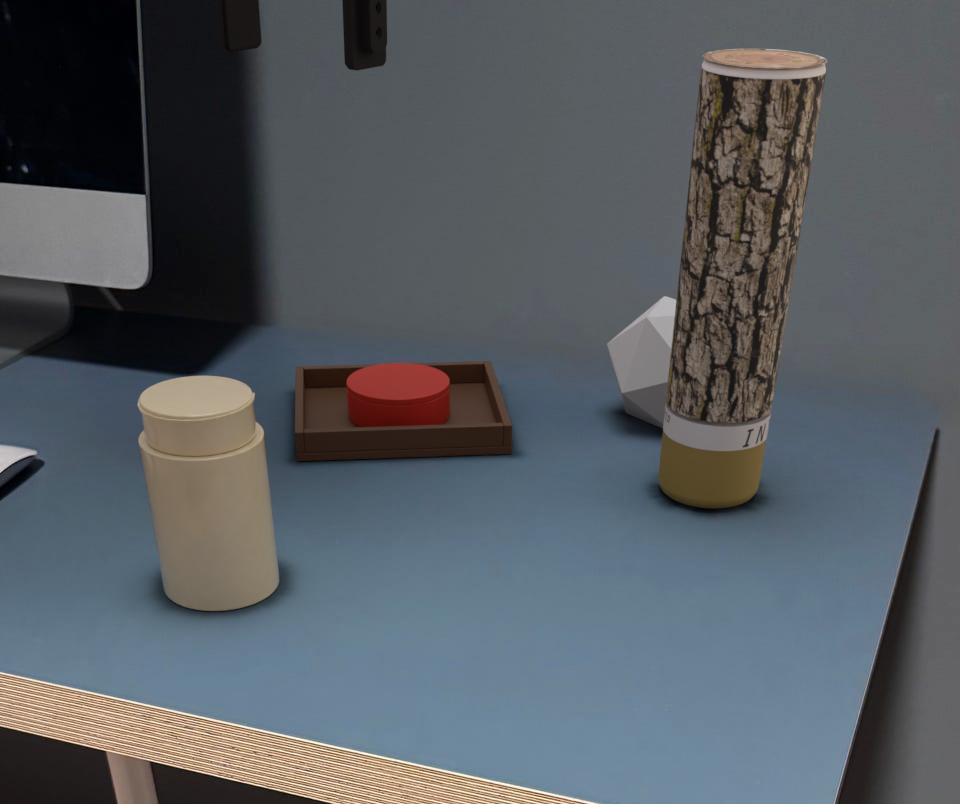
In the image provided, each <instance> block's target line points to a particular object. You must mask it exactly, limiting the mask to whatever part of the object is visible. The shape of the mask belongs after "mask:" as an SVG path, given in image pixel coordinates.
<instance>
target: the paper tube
mask: <svg viewBox="0 0 960 804" xmlns="http://www.w3.org/2000/svg"><path fill="white" fill-rule="evenodd" d="M702 57H703V61H702V63H701V65H700V73H699V84H698V94H697V104H696V110H695V111H696V112H695V113H696V114H695V122H694V132H693V140H692V151H691V160H690V169H689V177H688V178H689V179H688V188H687V197H686V206H685V217H684V226H683V236H682V244H681V254H680V263H679V273H678V281H677V290H676V291H677V292H676V310H675V319H674V328H673V338H672V347H671V357H670V366H669V376H668V385H667V394H666V404H665V413H664V423H663V428H662V436H661V446H660V455H659V464H658V475H657V481H658V486H659V487H660V488H661V490H662V492H663V493H664V494H665V495H666V496H667V497H669V498H670V499H672V500H674V501H675V502H677V503H680V504H683V505H686V506H689V507H694V508H699V509H712V510H713V509H714V510H715V509H728V508H733V507H737V506H740V505H742V504H744V503H746V502H748V501H750V500H751V499H752V498H753V497H754V496H755V495H756V494H757V492H758V490H759V487H760V481H761V475H762V470H763V464H764V463H763V462H764V456H765V450H766V445H767V439H768V435H769V428H770V423H771V422H770V421H771V417H772V408H773V405H774V398H775V392H776V385H777V379H778V374H779V373H778V372H779V367H780V360H781V355H782V348H783V342H784V341H783V340H784V335H785V329H786V323H787V317H788V310H789V305H790V299H791V293H792V287H793V280H794V274H795V267H796V261H797V255H798V249H799V242H800V238H801V237H800V236H801V231H802V224H803V217H804V212H805V205H806V199H807V192H808V187H809V181H810V175H811V168H812V162H813V157H814V149H815V144H816V138H817V132H818V126H819V125H818V124H819V119H820V113H821V106H822V101H823V94H824V87H825V83H826V82H825V81H826V76H827V68H826V64H827V63H828V59H827V58H826V57H823V56H820V55H819V54H813V53H808V52H803V51H795V50H788V49H787V50H786V49H774V48H773V49H771V48H729V49H718V50H712V51H708V52H706V53H704V54H703V55H702Z"/></svg>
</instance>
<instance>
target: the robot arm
mask: <svg viewBox="0 0 960 804" xmlns="http://www.w3.org/2000/svg"><path fill="white" fill-rule="evenodd" d="M341 2H342V26H343V28H342V29H343V53H344V65H345V66H346V68H347V69H348V70H350V71H363V70H367V69H373V68H379V67H384V66H385V64H386V61H387V45H388V5H387V4H388V3H387V2H388V1H387V0H342V1H341ZM214 3H215V13H216V25H217V36H218V37H217V38H218V45H219V49H220V50H221V52H225V53H235V52H242V51H249V50H254V49H258V48H260V46H261V45H262V30H261V28H262V27H261V18H260V17H261V15H260V14H261V13H260V0H214Z"/></svg>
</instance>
